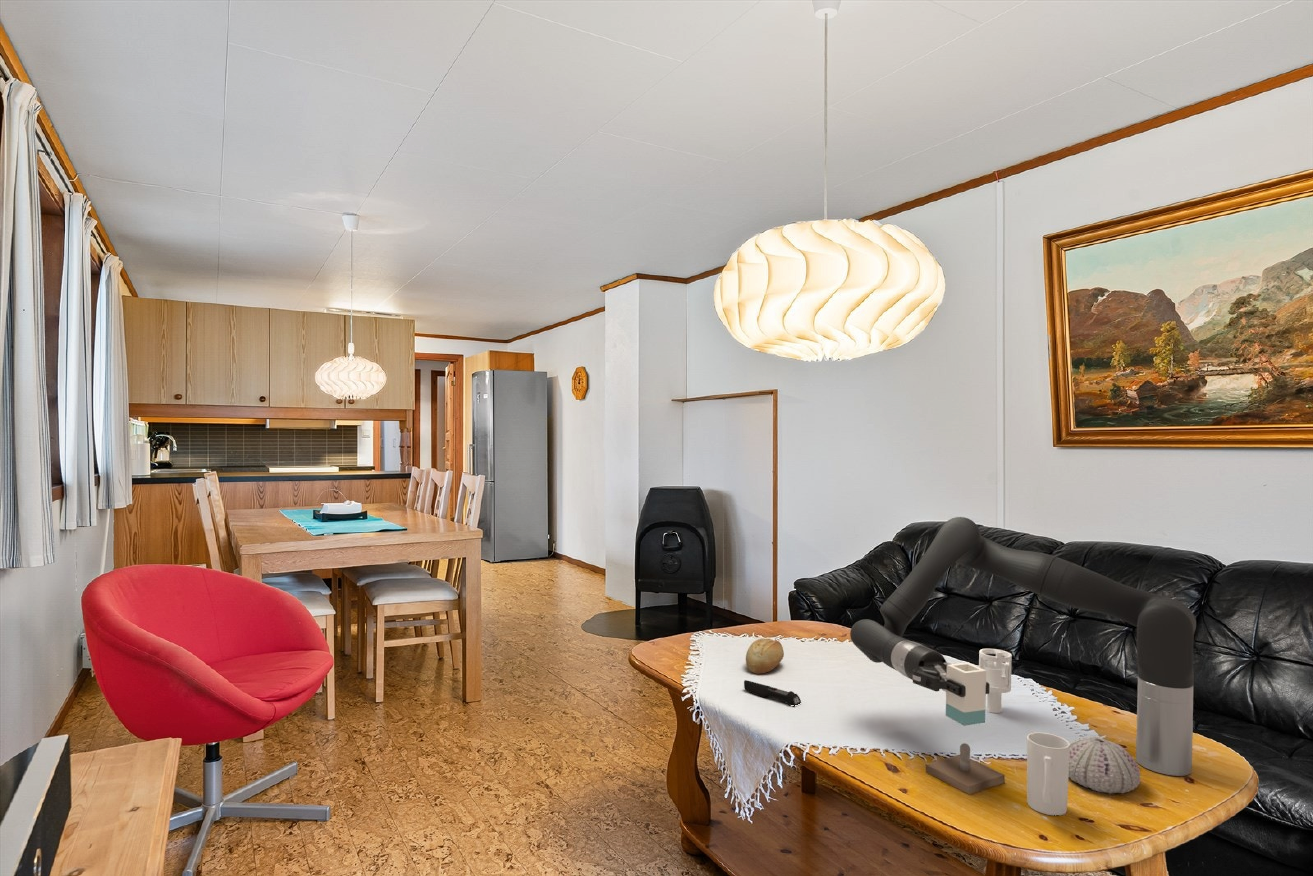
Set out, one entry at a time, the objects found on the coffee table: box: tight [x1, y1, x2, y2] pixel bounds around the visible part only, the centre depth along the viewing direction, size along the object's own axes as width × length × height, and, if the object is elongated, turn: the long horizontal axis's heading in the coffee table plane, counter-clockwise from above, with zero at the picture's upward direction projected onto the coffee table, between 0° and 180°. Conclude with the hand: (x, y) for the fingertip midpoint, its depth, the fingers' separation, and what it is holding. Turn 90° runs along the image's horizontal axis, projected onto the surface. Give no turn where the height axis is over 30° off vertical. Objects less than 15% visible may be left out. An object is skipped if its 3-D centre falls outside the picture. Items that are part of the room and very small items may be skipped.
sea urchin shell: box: [1068, 736, 1142, 795], centre depth 143 cm, size 13×14×8 cm
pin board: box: [925, 742, 1006, 795], centre depth 144 cm, size 10×10×6 cm
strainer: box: [978, 648, 1013, 714], centre depth 178 cm, size 7×7×15 cm
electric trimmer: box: [743, 679, 802, 707], centre depth 185 cm, size 4×16×3 cm, turn 48°
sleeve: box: [945, 662, 987, 727], centre depth 144 cm, size 5×5×10 cm
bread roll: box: [745, 638, 785, 675], centre depth 208 cm, size 10×15×8 cm, turn 154°
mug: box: [1026, 732, 1071, 817], centre depth 132 cm, size 10×7×12 cm, turn 152°
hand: (975, 690), depth 141 cm, fingers closed on sleeve, 5 cm apart
